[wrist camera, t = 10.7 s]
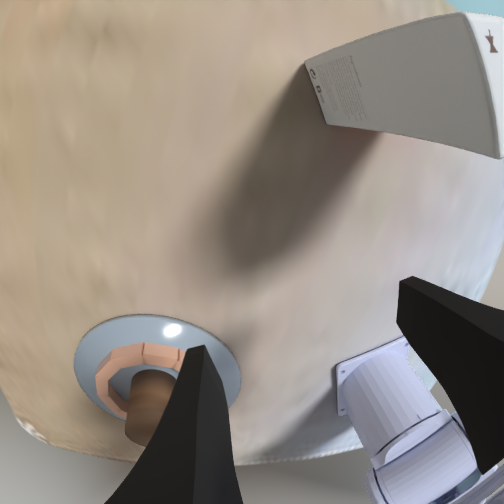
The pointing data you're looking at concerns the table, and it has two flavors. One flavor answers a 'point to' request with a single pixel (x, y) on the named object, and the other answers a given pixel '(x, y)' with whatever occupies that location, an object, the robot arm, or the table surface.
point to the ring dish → (143, 357)
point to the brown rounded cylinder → (147, 403)
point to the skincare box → (420, 82)
